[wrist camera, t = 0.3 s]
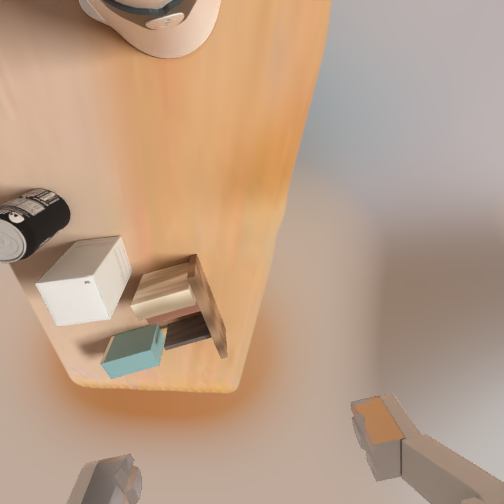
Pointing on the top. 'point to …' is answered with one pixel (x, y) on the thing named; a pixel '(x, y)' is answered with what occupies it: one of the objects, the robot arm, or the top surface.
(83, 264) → the supplement box
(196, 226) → the top surface
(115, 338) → the boxed book
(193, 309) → the book stack with bookend
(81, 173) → the top surface
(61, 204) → the beverage can
